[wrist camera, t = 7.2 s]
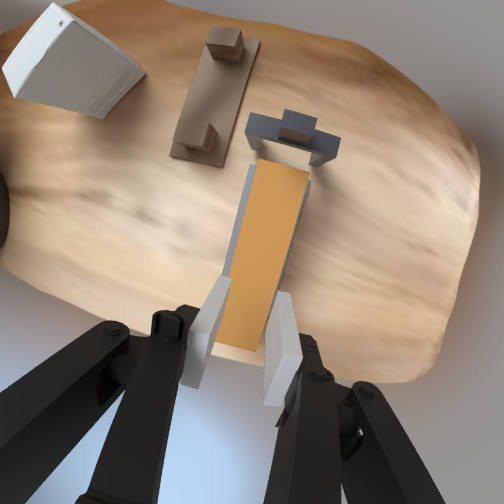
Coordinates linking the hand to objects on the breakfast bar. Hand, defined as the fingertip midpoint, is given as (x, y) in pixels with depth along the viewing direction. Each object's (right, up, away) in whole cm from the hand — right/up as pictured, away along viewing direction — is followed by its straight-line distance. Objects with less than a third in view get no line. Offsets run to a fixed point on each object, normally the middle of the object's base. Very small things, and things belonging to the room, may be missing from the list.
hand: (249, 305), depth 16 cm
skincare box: (-17, +24, +11) cm, 32 cm away
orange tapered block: (+1, +3, +10) cm, 10 cm away
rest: (-4, +20, +11) cm, 23 cm away
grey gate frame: (+4, +14, +12) cm, 18 cm away
